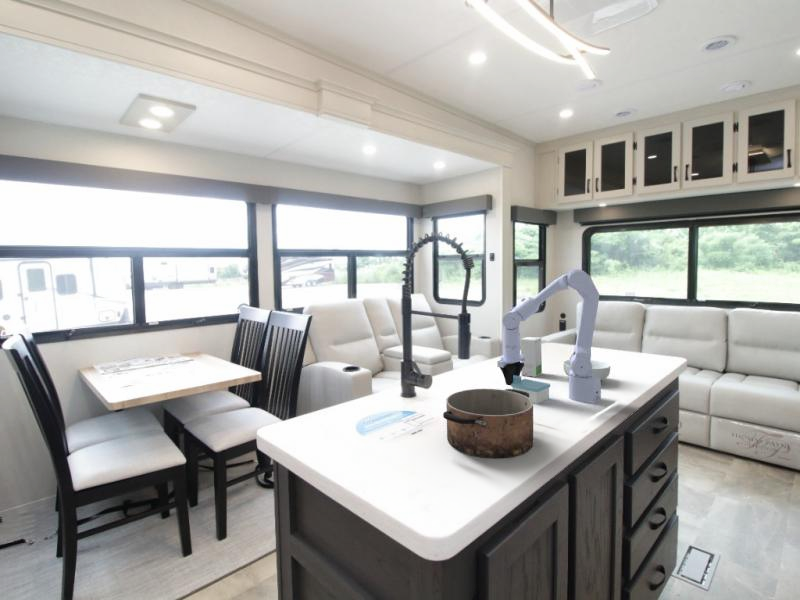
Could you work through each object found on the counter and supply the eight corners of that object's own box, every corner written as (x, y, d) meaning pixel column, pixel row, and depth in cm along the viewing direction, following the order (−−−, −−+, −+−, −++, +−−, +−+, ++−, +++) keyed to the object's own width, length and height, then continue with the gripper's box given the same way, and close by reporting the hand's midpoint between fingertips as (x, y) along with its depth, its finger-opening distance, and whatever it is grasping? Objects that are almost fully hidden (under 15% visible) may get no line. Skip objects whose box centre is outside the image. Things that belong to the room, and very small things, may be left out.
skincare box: (535, 377, 168) (535, 340, 167) (520, 375, 172) (519, 338, 171) (542, 373, 175) (542, 337, 174) (527, 371, 179) (526, 336, 178)
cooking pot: (488, 415, 127) (488, 381, 126) (557, 435, 111) (556, 396, 110) (419, 445, 107) (418, 404, 107) (490, 475, 91) (489, 427, 90)
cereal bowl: (618, 386, 153) (618, 368, 152) (573, 387, 153) (573, 369, 153) (597, 375, 170) (597, 358, 169) (557, 376, 170) (557, 359, 170)
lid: (550, 386, 139) (550, 379, 139) (537, 392, 133) (536, 385, 133) (514, 379, 149) (514, 373, 149) (501, 384, 143) (501, 377, 143)
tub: (549, 399, 139) (549, 386, 139) (536, 405, 134) (536, 391, 133) (525, 394, 146) (525, 381, 145) (512, 399, 140) (512, 386, 140)
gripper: (513, 341, 152) (513, 377, 153) (489, 347, 142) (490, 385, 143) (530, 343, 146) (530, 381, 147) (507, 349, 137) (507, 389, 138)
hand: (512, 383), depth 145 cm, fingers closed on lid, 3 cm apart
